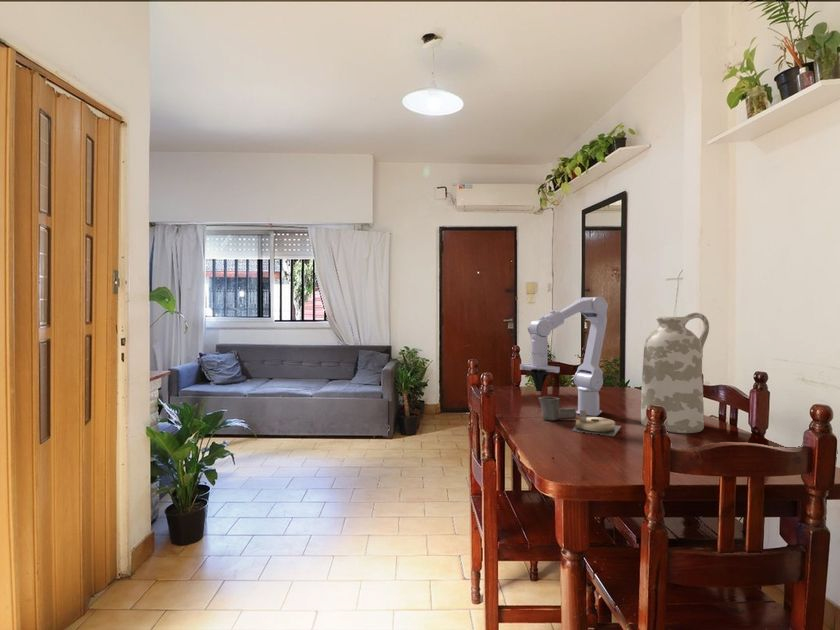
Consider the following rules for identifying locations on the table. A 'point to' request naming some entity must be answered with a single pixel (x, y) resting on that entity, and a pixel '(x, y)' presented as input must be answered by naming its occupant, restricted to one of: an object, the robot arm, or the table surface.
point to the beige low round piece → (594, 423)
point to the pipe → (555, 409)
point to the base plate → (607, 433)
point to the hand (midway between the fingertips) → (539, 391)
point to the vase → (675, 373)
